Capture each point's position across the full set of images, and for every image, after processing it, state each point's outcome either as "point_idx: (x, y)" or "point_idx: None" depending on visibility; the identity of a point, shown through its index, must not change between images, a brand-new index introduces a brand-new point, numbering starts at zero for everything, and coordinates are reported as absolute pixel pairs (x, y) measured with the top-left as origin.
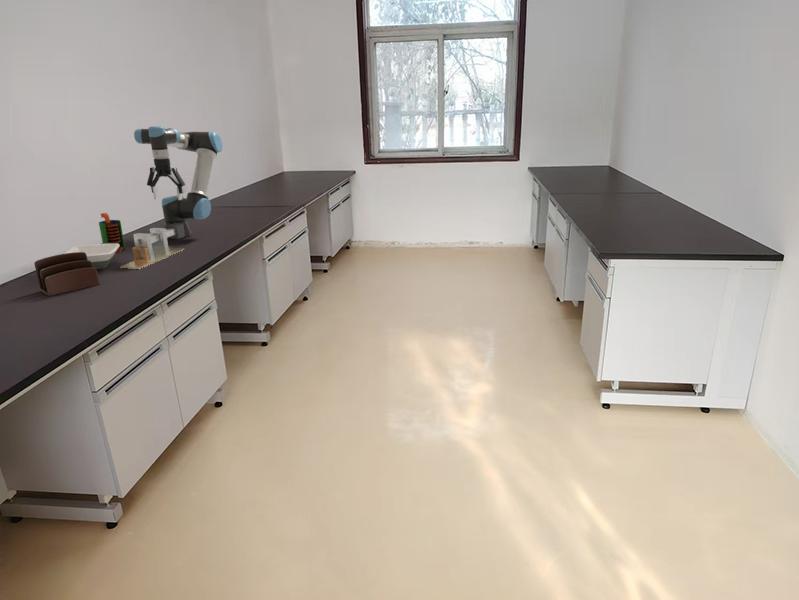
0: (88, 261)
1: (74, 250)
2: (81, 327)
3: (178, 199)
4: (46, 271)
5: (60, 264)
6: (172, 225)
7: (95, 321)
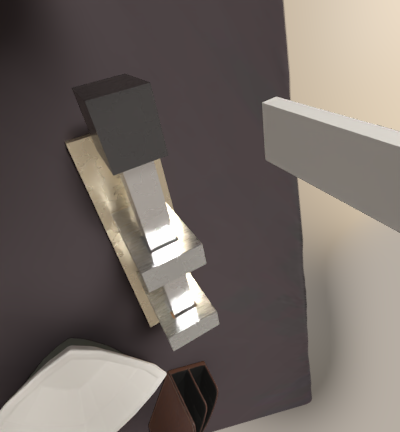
0: (206, 408)
1: None
2: (292, 375)
3: (272, 160)
4: None
5: None
6: (139, 161)
7: (294, 366)
